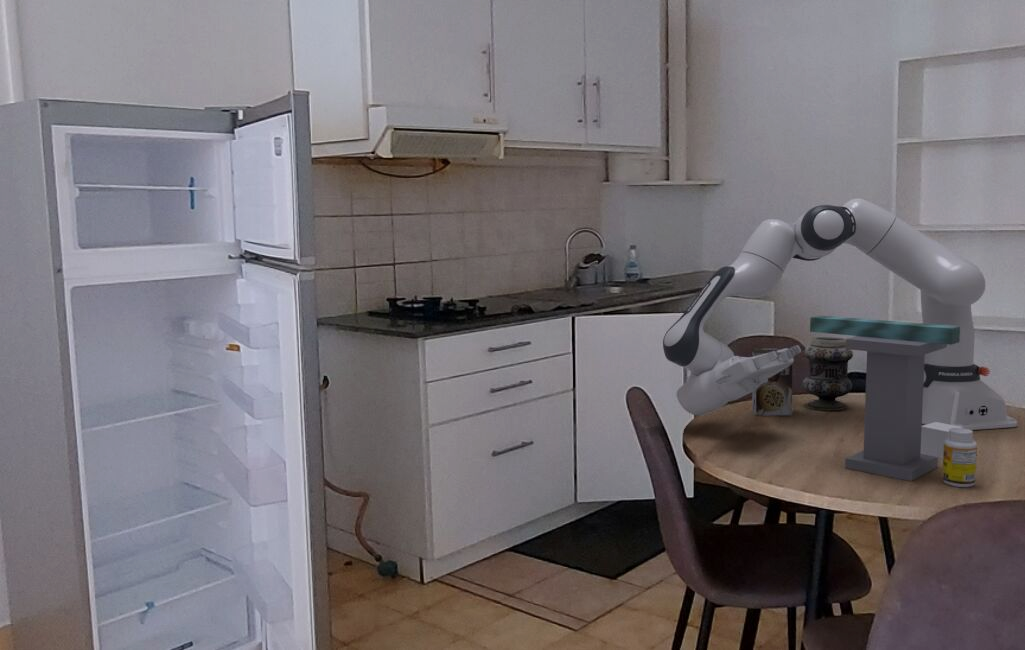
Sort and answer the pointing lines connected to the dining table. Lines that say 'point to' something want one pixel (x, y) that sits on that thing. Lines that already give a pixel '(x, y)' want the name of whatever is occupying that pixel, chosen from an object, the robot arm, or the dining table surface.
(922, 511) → the dining table surface
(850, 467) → the pedestal
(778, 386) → the coffee box
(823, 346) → the apothecary jar
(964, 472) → the supplement bottle
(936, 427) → the grey cube piece
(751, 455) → the dining table surface
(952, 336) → the teal block
